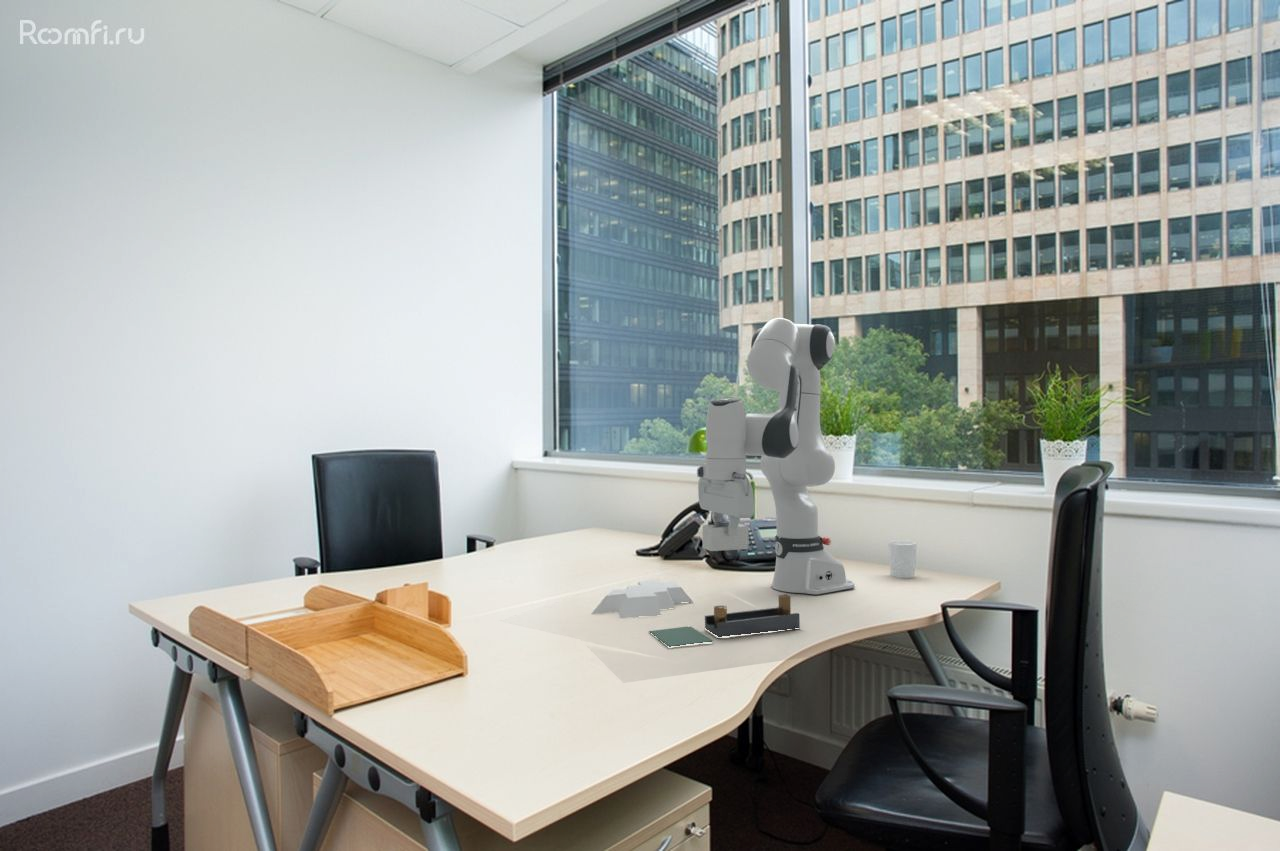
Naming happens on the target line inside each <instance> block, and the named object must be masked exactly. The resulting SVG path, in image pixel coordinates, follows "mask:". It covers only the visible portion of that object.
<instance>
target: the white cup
mask: <svg viewBox="0 0 1280 851" xmlns="http://www.w3.org/2000/svg"><path fill="white" fill-rule="evenodd" d="M887 547H888V548H887V550H888V551H887V552H888V563H889V565H888V566H889V575H890V576H891V577H893V578H898V579H912V578H915V577H916V562H917V561H916V560H917V542H915V541H913V540H903V539H900V540H897V539H896V540H889V541H888V542H887Z"/></svg>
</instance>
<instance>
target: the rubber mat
mask: <svg viewBox="0 0 1280 851" xmlns="http://www.w3.org/2000/svg"><path fill="white" fill-rule="evenodd" d="M649 632H650V633H652V634H653V635H654V636H656V637H657V638H658V639H659V640H661V641H662V642H663V643H665V644H666V645H667V646H669V647H671V646H680V645H686V644H694V643H703V642H712V641H713V642H714V640H713V639H711V638H709V636H707V635H705V634H704V633H702V632H700V631H699V630H698V629H696V628H694V627H693V626H690V627H688V626H682V627H673V628H666V629H665V628H664V629H657V630H649V631H648V633H649ZM650 633H649V634H650ZM654 636H653V637H654ZM659 640H658V641H659Z"/></svg>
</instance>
